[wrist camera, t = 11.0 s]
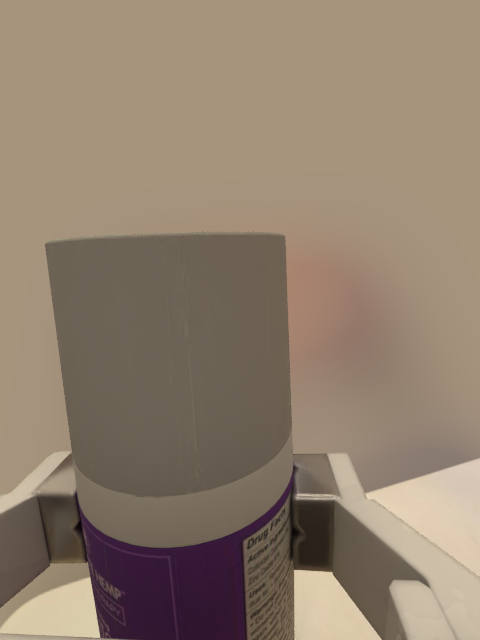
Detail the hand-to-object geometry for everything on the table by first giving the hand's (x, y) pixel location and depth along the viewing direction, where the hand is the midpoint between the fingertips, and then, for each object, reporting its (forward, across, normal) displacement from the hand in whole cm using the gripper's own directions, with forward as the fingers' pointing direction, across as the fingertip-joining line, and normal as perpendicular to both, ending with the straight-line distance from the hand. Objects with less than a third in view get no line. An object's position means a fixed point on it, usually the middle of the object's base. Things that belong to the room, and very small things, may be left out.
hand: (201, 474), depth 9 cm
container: (-1, 0, -9) cm, 9 cm away
